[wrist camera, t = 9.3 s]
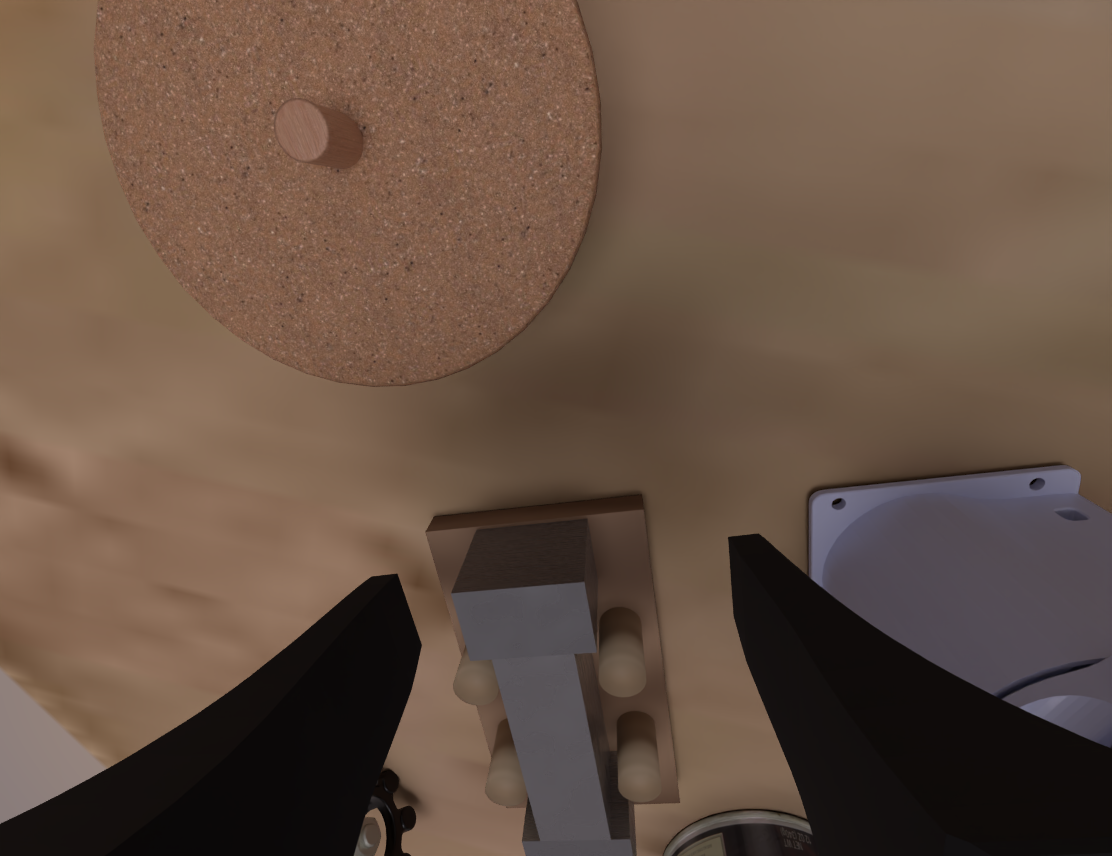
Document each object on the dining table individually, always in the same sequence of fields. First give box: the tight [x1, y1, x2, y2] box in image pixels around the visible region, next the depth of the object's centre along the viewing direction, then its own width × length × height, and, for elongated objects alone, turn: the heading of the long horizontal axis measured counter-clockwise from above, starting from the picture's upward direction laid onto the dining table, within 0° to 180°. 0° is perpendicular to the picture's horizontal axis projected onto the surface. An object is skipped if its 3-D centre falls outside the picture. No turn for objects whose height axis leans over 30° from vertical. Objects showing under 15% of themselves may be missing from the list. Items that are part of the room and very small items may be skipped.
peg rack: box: [426, 495, 680, 808], centre depth 24 cm, size 17×9×4 cm, turn 10°
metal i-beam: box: [451, 518, 637, 856], centre depth 23 cm, size 16×5×4 cm, turn 9°
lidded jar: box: [94, 0, 602, 387], centre depth 14 cm, size 11×11×9 cm
